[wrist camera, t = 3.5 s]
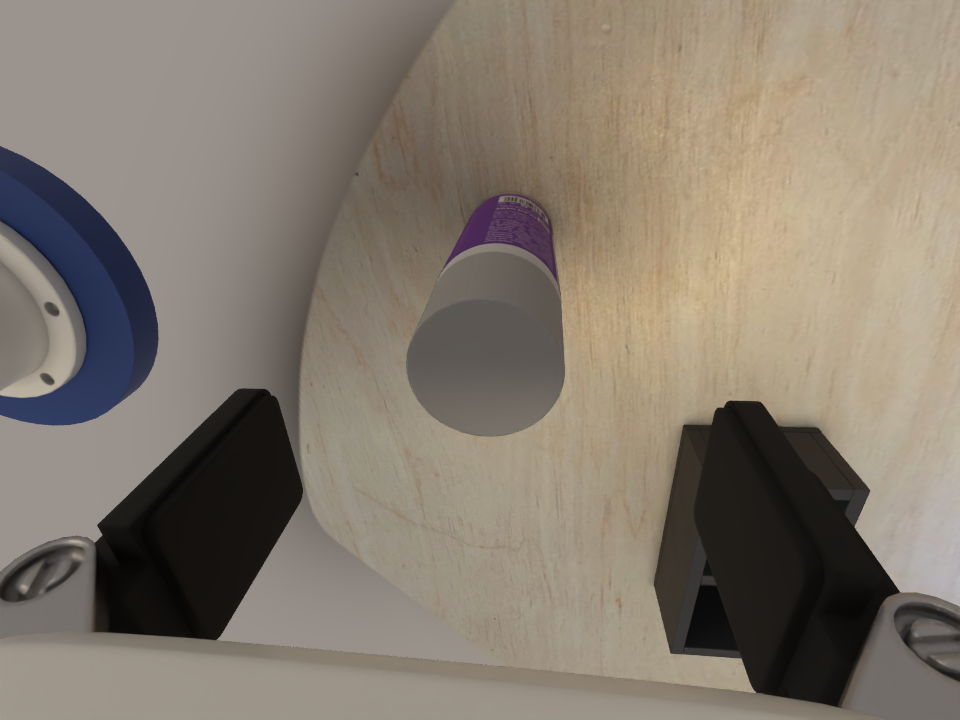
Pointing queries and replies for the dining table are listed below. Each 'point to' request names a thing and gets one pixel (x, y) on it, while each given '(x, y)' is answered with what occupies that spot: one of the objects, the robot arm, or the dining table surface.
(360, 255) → the dining table surface
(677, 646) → the dark grey divided box
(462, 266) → the container
